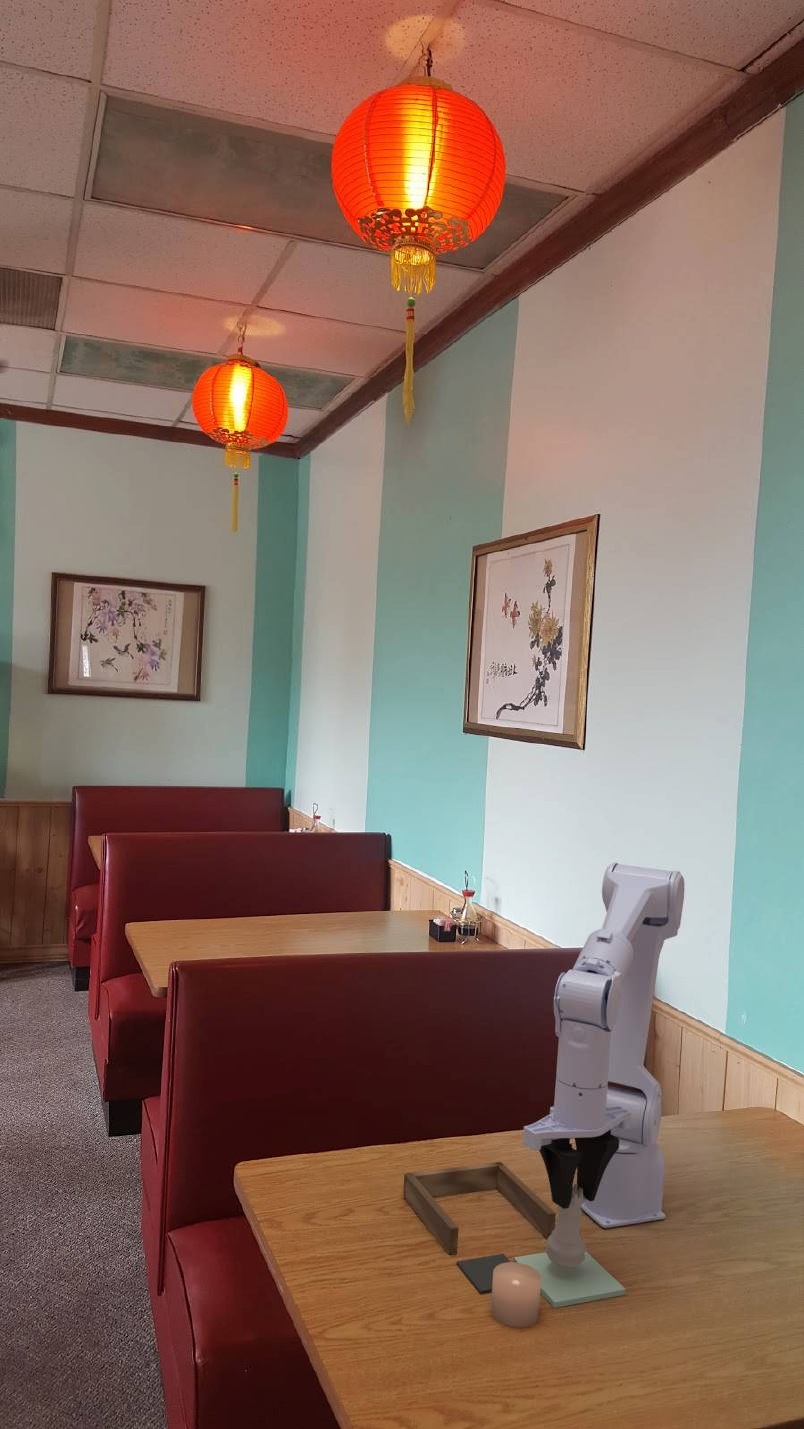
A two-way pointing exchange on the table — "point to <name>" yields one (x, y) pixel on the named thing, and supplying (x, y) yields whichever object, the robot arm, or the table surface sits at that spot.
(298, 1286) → the table surface
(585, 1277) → the coaster
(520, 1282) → the peach short cylinder
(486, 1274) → the dark gray tile
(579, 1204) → the rook chess piece
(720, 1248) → the table surface
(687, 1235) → the table surface
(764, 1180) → the table surface
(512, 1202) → the cubby
